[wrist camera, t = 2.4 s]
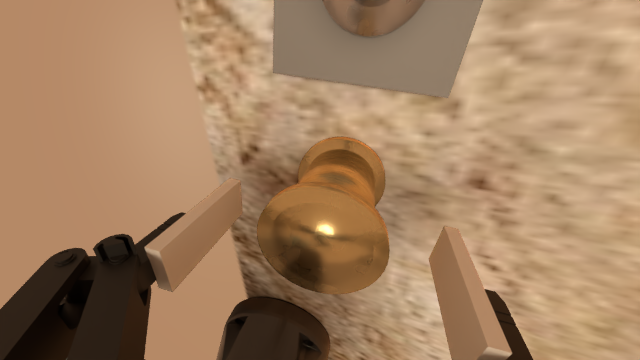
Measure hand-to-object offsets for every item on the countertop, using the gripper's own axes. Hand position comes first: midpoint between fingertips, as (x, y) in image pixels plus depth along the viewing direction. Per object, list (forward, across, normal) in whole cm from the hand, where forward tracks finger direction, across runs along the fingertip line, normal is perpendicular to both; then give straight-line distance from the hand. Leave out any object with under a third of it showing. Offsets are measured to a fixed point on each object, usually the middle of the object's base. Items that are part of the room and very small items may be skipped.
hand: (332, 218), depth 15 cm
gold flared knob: (+7, 0, 0) cm, 7 cm away
